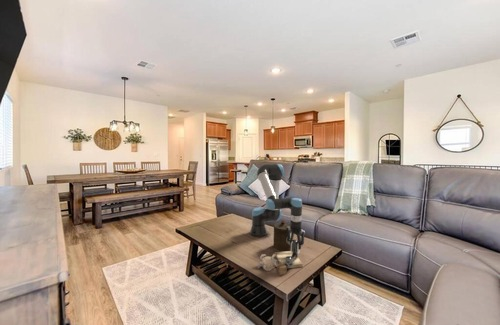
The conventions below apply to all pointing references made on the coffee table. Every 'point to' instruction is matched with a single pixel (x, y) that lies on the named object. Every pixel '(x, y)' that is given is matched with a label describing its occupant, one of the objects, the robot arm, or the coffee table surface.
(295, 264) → the board
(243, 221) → the coffee table surface
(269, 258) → the beige animal figurine
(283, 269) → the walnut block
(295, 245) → the lever
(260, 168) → the robot arm
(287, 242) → the wooden container
